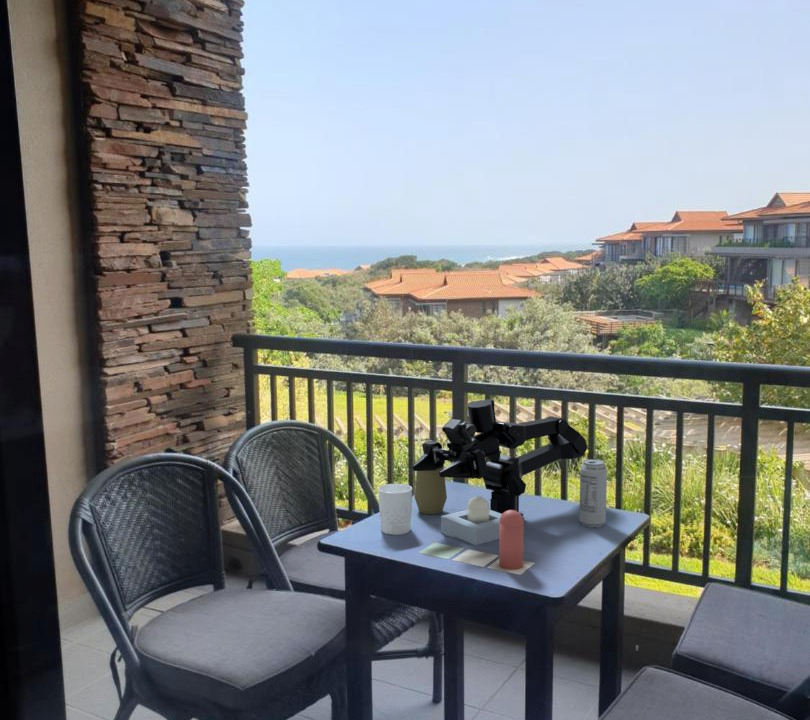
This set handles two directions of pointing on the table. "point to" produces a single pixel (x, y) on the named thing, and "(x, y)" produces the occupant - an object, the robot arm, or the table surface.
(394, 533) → the white cup
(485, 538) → the button box
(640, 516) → the table surface
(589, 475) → the energy drink can
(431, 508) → the squeeze bottle
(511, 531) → the red domed cylinder
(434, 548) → the track
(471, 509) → the plunger
